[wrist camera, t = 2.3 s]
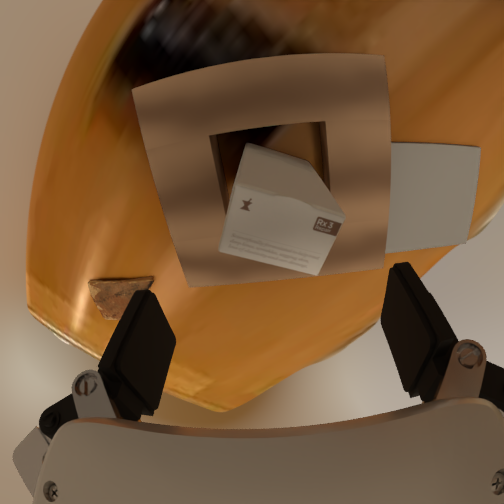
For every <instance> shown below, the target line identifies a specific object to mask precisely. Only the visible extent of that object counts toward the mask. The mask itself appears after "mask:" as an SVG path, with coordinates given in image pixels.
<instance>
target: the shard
mask: <svg viewBox="0 0 504 504" xmlns="http://www.w3.org/2000/svg"><path fill="white" fill-rule="evenodd" d="M152 279H153V276H151V277H142V278H137V279H127V280H121V281H117V280H116V281H111V280H110V281H102V280H100V281H99V280H93V281H91V280H90V281H89V282H88V287H89V289H90V293H91V296H92V298H93V300H94V302H95V303H96V305H97V307H98V309H99V310H100V312H101V314H102V316H103V317H104V318H105V319H109V320H110V319H111V320H120V319H121V317H122V315H123V313H124V311H125V309H126V307H127V305H128V303H129V301H130V299H131V298H132V296H133V294H134V292H135V291H136V290H149V288H150V287H151V286H152V284H153V282H154V280H152Z"/></svg>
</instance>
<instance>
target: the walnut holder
mask: <svg viewBox="0 0 504 504" xmlns="http://www.w3.org/2000/svg"><path fill="white" fill-rule="evenodd" d="M132 93H133V98H134V103H135V107H136V112H137V116H138V120H139V125H140V129H141V133H142V137H143V141H144V145H145V149H146V153H147V156H148V160H149V164H150V168H151V171H152V175H153V178H154V182H155V185H156V189H157V192H158V196H159V199H160V202H161V206H162V209H163V212H164V215H165V218H166V222H167V225H168V228H169V231H170V234H171V237H172V240H173V243H174V246H175V249H176V252H177V255H178V258H179V261H180V263H181V266H182V269H183V272H184V275H185V277H186V280H187V283H188V286H189V287H203V286H216V285H228V284H240V283H252V282H263V281H273V280H284V279H294V278H303V277H313V276H315V275H312V274H308V273H304V272H300V271H296V270H292V269H288V268H284V267H280V266H276V265H272V264H267V263H263V262H259V261H255V260H251V259H247V258H243V257H239V256H235V255H230V254H226V253H222V252H219V250H218V247H219V242H220V238H221V235H222V232H223V226H224V222H225V218H226V214H227V210H228V205H229V201H230V200H229V195H228V190H227V185H226V181H225V176H224V171H223V166H222V161H221V156H220V151H219V146H218V141H217V136H216V134H220V133H226V132H232V131H238V130H244V129H251V128H258V127H266V126H274V125H283V124H294V123H305V122H319V127H320V137H321V148H322V160H323V174H324V184H325V185H326V187H327V188H328V190H329V191H330V193H331V194H332V196H333V197H334V199H335V200H336V202H337V203H338V205H339V206H340V208H341V209H342V211H343V212H344V214H345V216H346V218H345V220H344V222H343V224H342V226H341V229H340V231H339V233H338V235H337V237H336V239H335V241H334V243H333V245H332V247H331V249H330V251H329V253H328V255H327V257H326V260H325V262H324V264H323V266H322V268H321V270H320V272H319V274H318V275H317V276H322V275H331V274H340V273H348V272H357V271H365V270H373V269H381V268H383V266H384V258H385V250H386V241H387V232H388V220H389V207H390V188H391V124H390V106H389V93H388V82H387V73H386V65H385V58H384V55H372V54H352V53H317V54H296V55H283V56H273V57H264V58H257V59H249V60H243V61H237V62H231V63H226V64H220V65H216V66H211V67H206V68H202V69H198V70H194V71H190V72H186V73H182V74H178V75H175V76H171V77H168V78H164V79H161V80H158V81H155V82H152V83H149V84H146V85H143V86H140V87H137V88H134V89H132Z"/></svg>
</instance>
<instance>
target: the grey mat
mask: <svg viewBox="0 0 504 504" xmlns="http://www.w3.org/2000/svg"><path fill="white" fill-rule="evenodd" d="M480 153H481V148H480V147H477V146H467V145H455V144H440V143H417V142H391V188H390V207H389V220H388V232H387V241H386V250H385V253H393V252H402V251H410V250H418V249H426V248H434V247H442V246H450V245H457V244H464V243H466V241H467V237H468V233H469V228H470V224H471V219H472V214H473V208H474V203H475V197H476V190H477V183H478V175H479V165H480Z"/></svg>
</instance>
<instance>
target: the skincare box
mask: <svg viewBox="0 0 504 504" xmlns="http://www.w3.org/2000/svg"><path fill="white" fill-rule="evenodd" d="M345 218H346V216H345V214H344V212H343V211H342V209H341V208H340V206H339V205H338V203H337V202H336V200H335V199H334V197H333V196H332V194H331V193H330V191H329V190H328V188H327V187H326V185H325V184H324V183H323V181H322V180H321V178H320V177H319V175H318V174H317V172H316V171H315V170H314V168H313V167H312V165H311V164H310V163H309V162H308V161H306V160H303V159H300V158H297V157H294V156H291V155H288V154H285V153H282V152H278V151H275V150H272V149H268V148H265V147H262V146H258V145H255V144H251V143H246V145H245V148H244V151H243V155H242V158H241V161H240V164H239V168H238V172H237V175H236V178H235V181H234V185H233V188H232V193H231V197H230V201H229V205H228V210H227V214H226V218H225V222H224V226H223V232H222V235H221V238H220V242H219V247H218V250H219V252H222V253H226V254H230V255H235V256H239V257H243V258H247V259H251V260H255V261H259V262H263V263H267V264H272V265H276V266H280V267H284V268H288V269H292V270H296V271H300V272H304V273H308V274H312V275H315V276H317V275H318V274H319V272H320V270H321V268H322V266H323V264H324V262H325V260H326V257H327V255H328V253H329V251H330V249H331V247H332V245H333V243H334V241H335V239H336V237H337V235H338V233H339V231H340V229H341V226H342V224H343V222H344V220H345Z"/></svg>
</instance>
